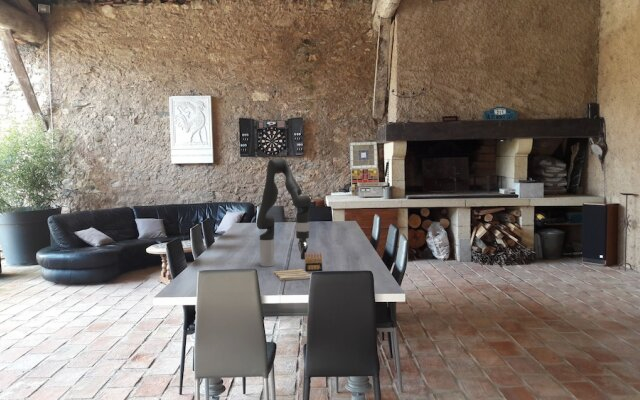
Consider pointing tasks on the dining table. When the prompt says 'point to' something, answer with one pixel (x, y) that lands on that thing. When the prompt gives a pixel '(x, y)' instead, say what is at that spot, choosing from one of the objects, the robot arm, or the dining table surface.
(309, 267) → the ammunition clip
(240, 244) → the dining table surface
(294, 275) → the birch plank
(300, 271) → the oak board
